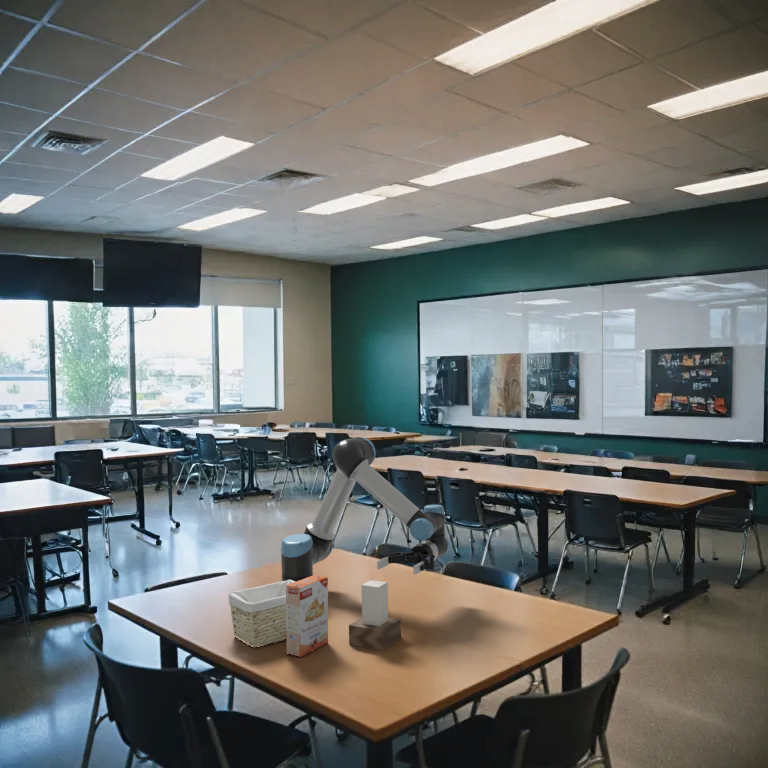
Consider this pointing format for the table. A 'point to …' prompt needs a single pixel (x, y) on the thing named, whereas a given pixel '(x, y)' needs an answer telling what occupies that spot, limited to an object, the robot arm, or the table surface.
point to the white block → (374, 603)
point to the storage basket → (260, 613)
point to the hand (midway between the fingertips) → (395, 567)
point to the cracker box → (306, 615)
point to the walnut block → (375, 634)
